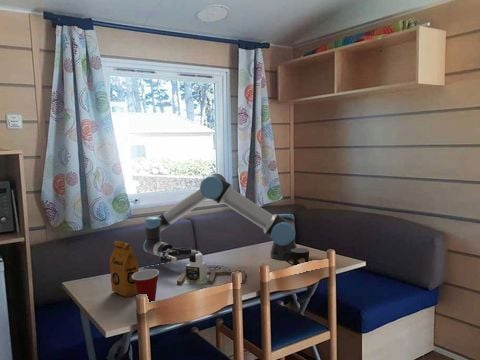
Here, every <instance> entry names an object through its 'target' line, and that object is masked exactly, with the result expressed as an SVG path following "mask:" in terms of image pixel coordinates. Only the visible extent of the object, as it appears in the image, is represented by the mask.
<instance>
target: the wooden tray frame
mask: <svg viewBox="0 0 480 360" xmlns="http://www.w3.org/2000/svg"><path fill="white" fill-rule="evenodd" d="M236 271H239V272H241V273H242V283H241V284H245V281H244V280H246V269H233V270H227V269H226V270H207V277H206V278H205V279H203V280H202V281H200V282H197V281H188V280H187V279H186V270H185V271H182V273H181V274H180V275H179V278H178V279H177V281H176V285H178V286H179V285H183V284H184V285H206V284H207V283H208V285H213V284H214V282H215V278H216V276H231V273H232V272H236Z"/></svg>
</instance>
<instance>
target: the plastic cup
mask: <svg viewBox="0 0 480 360" xmlns="http://www.w3.org/2000/svg"><path fill="white" fill-rule="evenodd" d="M159 275H160V271H159V270H158V269H156V268H154V269H153V268H147V269H142V270H139V271H138V272H136V273H134V274H133V275H132V279H133V280H134V282H135V285H136V289H137V293H138V294H147V296H148V299H149V302H151V301H155V302H156V296H157V289H158V279H159ZM138 294H137V295H138Z"/></svg>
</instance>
